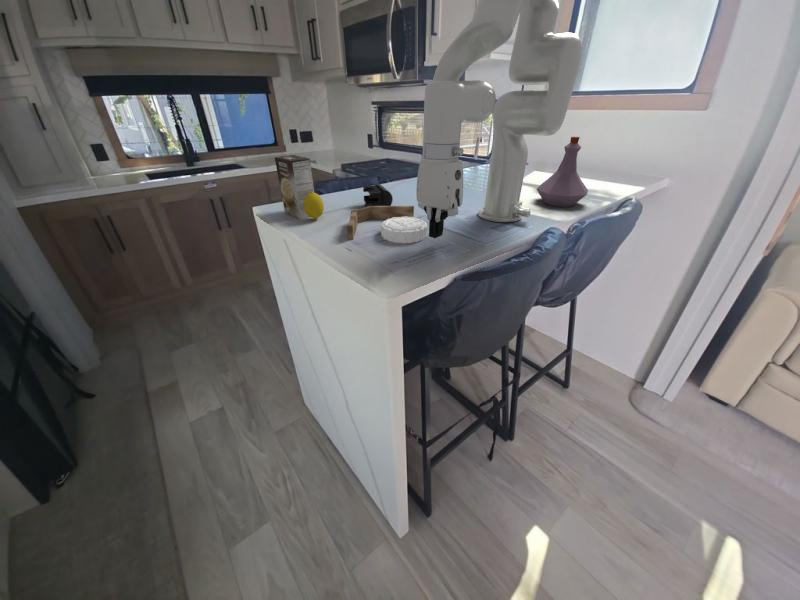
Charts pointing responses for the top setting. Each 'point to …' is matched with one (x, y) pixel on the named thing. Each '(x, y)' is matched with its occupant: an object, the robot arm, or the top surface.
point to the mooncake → (404, 229)
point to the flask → (564, 180)
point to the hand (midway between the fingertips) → (435, 236)
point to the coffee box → (294, 183)
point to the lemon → (313, 205)
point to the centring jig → (376, 215)
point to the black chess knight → (377, 196)
